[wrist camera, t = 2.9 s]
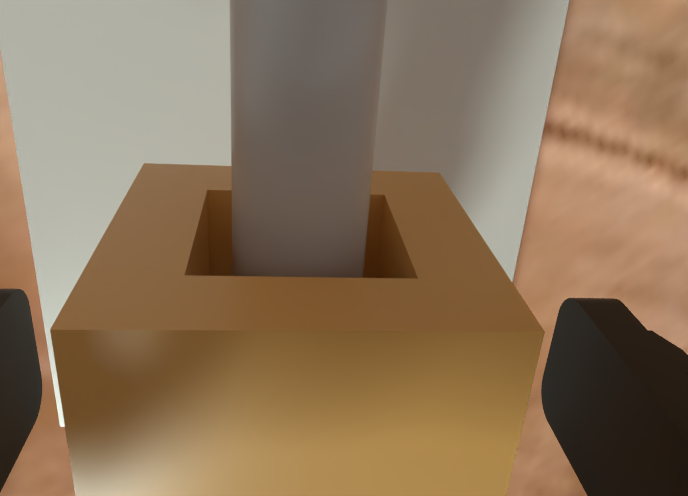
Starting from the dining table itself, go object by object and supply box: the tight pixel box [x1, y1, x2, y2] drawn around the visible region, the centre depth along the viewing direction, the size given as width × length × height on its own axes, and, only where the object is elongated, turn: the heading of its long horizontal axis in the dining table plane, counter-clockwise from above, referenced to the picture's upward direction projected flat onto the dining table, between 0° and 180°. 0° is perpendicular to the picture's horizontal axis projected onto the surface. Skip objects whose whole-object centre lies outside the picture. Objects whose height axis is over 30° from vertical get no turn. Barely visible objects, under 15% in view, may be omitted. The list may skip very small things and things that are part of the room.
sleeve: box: [50, 163, 545, 496], centre depth 9 cm, size 4×5×4 cm
